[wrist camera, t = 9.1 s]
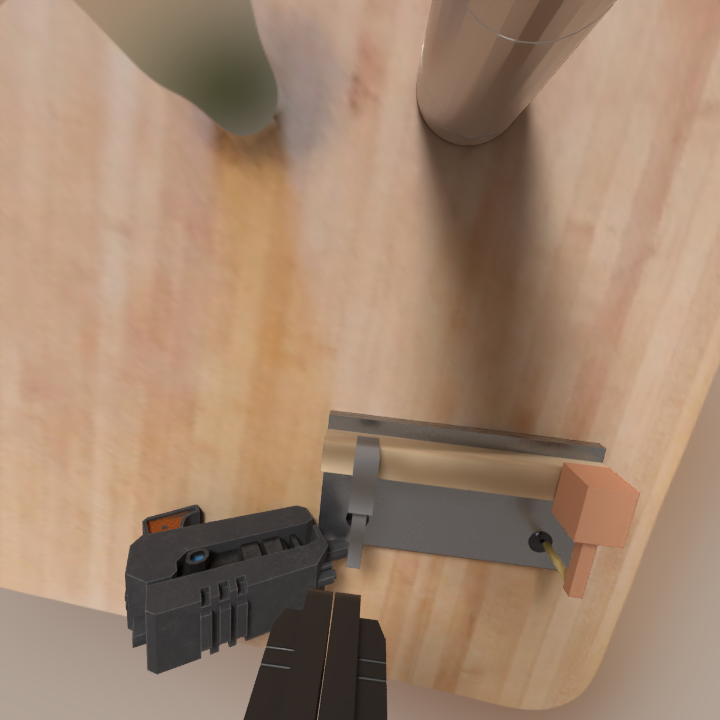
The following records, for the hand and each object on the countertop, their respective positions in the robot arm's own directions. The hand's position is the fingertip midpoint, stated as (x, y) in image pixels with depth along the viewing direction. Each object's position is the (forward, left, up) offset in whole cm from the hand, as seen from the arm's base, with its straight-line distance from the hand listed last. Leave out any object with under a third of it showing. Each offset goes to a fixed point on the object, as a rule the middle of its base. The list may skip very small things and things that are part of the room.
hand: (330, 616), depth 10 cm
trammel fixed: (+10, +11, -26) cm, 30 cm away
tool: (+18, -10, -27) cm, 34 cm away
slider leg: (+10, +21, -25) cm, 34 cm away
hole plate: (+11, +10, -27) cm, 31 cm away
